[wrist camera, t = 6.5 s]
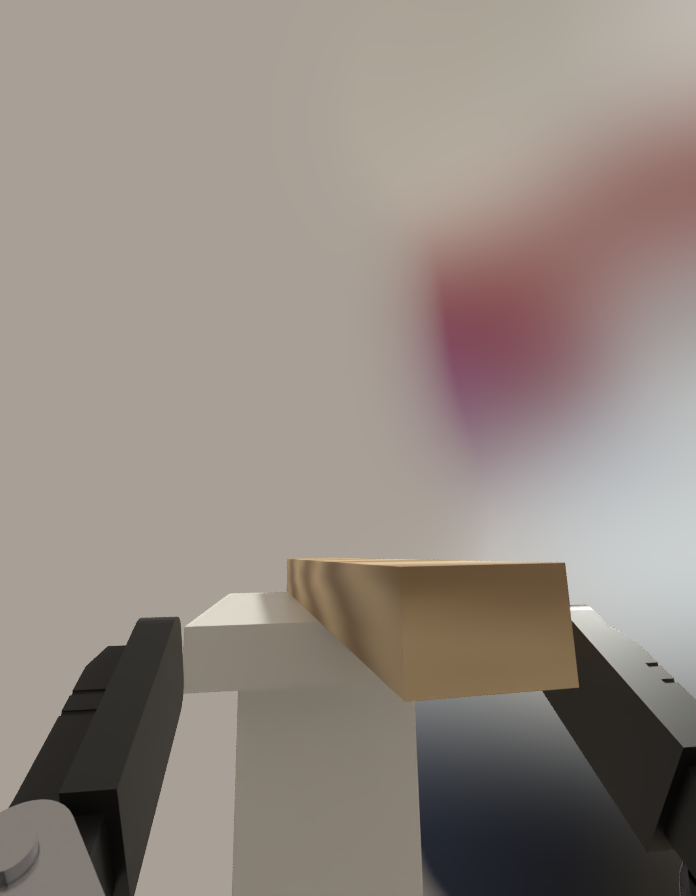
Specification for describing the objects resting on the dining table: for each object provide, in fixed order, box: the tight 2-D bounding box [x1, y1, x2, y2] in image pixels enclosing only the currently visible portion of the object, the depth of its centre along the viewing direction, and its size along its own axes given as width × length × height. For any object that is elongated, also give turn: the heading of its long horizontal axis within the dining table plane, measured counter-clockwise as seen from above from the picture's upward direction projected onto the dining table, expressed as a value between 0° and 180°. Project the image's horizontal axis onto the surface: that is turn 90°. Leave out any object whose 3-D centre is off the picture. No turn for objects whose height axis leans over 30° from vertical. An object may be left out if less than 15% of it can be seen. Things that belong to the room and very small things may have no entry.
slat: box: [287, 558, 579, 702], centre depth 19 cm, size 24×3×2 cm, turn 11°
